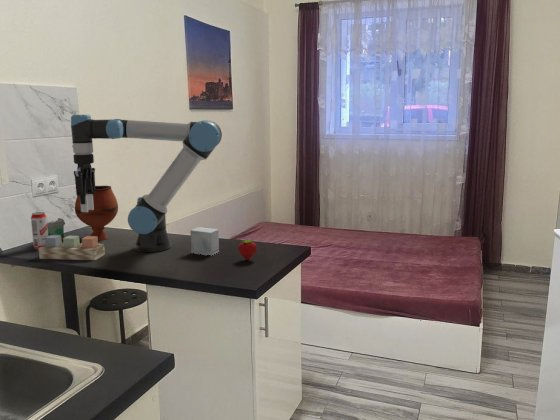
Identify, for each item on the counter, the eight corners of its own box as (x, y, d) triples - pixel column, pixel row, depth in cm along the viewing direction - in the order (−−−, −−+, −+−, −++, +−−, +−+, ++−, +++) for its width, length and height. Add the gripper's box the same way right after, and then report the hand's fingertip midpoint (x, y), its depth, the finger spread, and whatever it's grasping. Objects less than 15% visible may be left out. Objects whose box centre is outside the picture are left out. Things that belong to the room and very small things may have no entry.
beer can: (30, 249, 220) (27, 214, 217) (40, 246, 226) (37, 211, 223) (42, 250, 218) (39, 214, 215) (52, 247, 224) (49, 212, 221)
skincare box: (190, 253, 214) (189, 229, 212) (199, 250, 220) (198, 226, 218) (211, 256, 210) (210, 232, 208) (219, 252, 216) (219, 228, 214)
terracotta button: (98, 245, 210) (97, 236, 210) (93, 248, 206) (92, 239, 205) (87, 245, 211) (86, 236, 210) (82, 248, 206) (81, 238, 205)
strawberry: (257, 262, 202) (257, 238, 200) (238, 262, 201) (238, 238, 199) (256, 258, 207) (256, 234, 205) (238, 258, 206) (237, 235, 205)
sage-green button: (79, 245, 211) (79, 235, 210) (74, 248, 207) (73, 238, 206) (69, 244, 211) (68, 235, 211) (63, 247, 207) (63, 238, 206)
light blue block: (61, 244, 212) (61, 235, 211) (56, 247, 207) (55, 238, 207) (51, 244, 212) (50, 235, 212) (45, 247, 208) (44, 237, 207)
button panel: (104, 254, 213) (104, 243, 212) (95, 260, 204) (94, 249, 203) (51, 252, 215) (50, 242, 215) (39, 258, 207) (38, 248, 206)
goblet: (128, 236, 243) (125, 186, 238) (95, 245, 227) (91, 191, 222) (102, 232, 253) (98, 183, 248) (68, 240, 237) (64, 187, 232)
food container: (55, 245, 227) (53, 224, 225) (43, 244, 228) (41, 223, 226) (72, 239, 239) (70, 218, 237) (60, 238, 240) (58, 218, 238)
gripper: (84, 151, 210) (88, 206, 214) (63, 155, 193) (68, 214, 197) (101, 152, 209) (105, 207, 213) (81, 155, 192) (86, 215, 197)
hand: (87, 210), depth 205 cm, fingers open, 4 cm apart
